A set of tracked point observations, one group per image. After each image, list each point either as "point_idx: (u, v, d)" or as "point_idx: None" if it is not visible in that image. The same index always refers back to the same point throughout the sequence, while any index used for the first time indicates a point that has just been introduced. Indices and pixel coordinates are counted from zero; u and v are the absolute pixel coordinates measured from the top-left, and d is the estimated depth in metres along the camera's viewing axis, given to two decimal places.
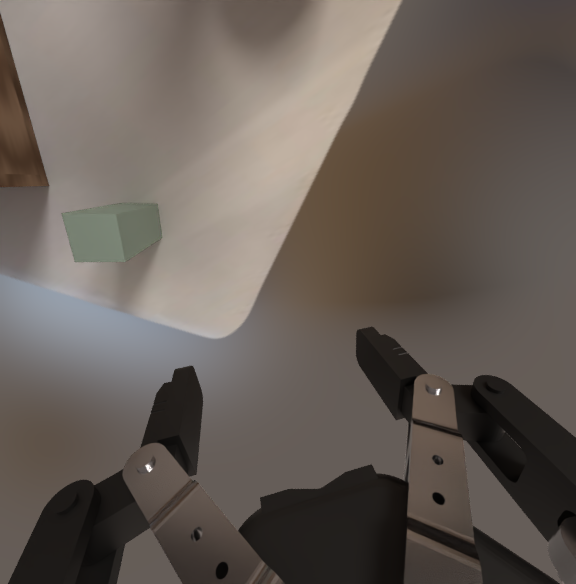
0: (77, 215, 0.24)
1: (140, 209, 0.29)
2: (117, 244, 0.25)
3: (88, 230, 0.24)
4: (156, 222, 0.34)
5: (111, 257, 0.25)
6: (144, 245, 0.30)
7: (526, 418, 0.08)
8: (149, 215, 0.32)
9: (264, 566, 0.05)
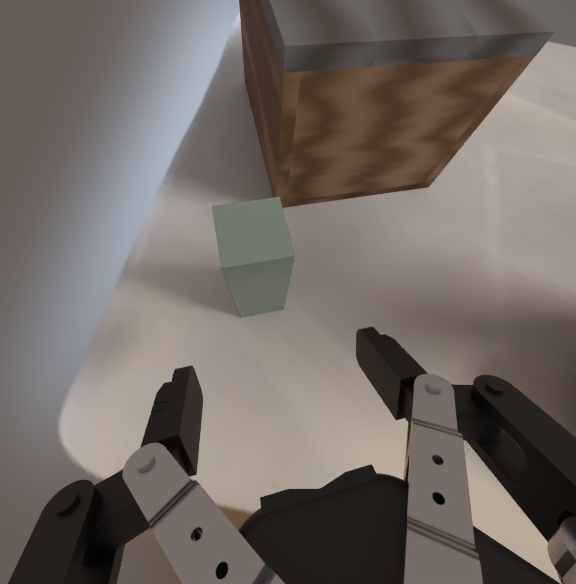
0: (281, 212, 0.17)
1: (286, 289, 0.22)
2: (249, 257, 0.16)
3: (263, 223, 0.17)
4: (262, 309, 0.26)
5: (226, 249, 0.16)
6: (237, 296, 0.21)
7: (526, 418, 0.08)
8: (274, 300, 0.24)
9: (264, 566, 0.05)
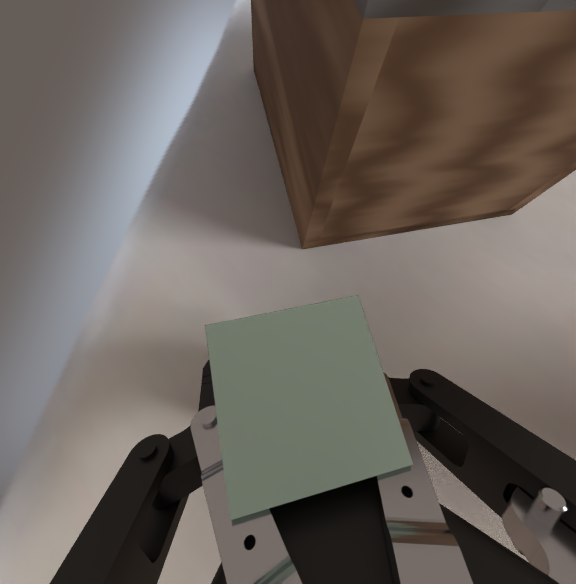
0: (367, 336, 0.07)
1: None
2: (300, 476, 0.06)
3: (328, 369, 0.07)
4: None
5: (241, 455, 0.06)
6: None
7: (459, 404, 0.08)
8: None
9: (287, 557, 0.05)
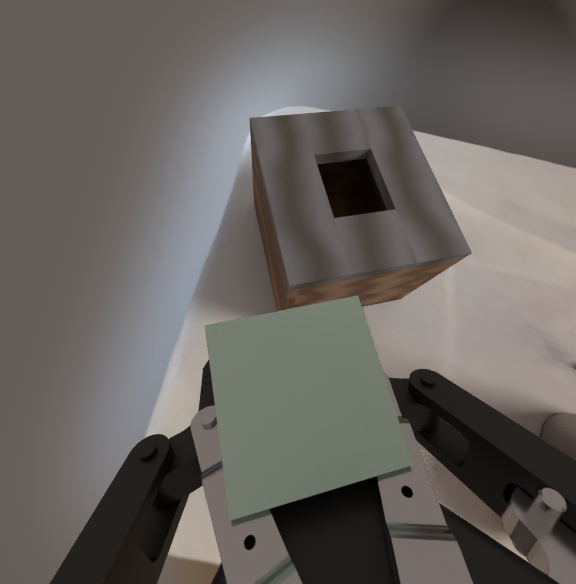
0: (367, 336, 0.07)
1: None
2: (300, 477, 0.06)
3: (327, 369, 0.07)
4: None
5: (241, 456, 0.06)
6: None
7: (459, 404, 0.08)
8: None
9: (287, 557, 0.05)
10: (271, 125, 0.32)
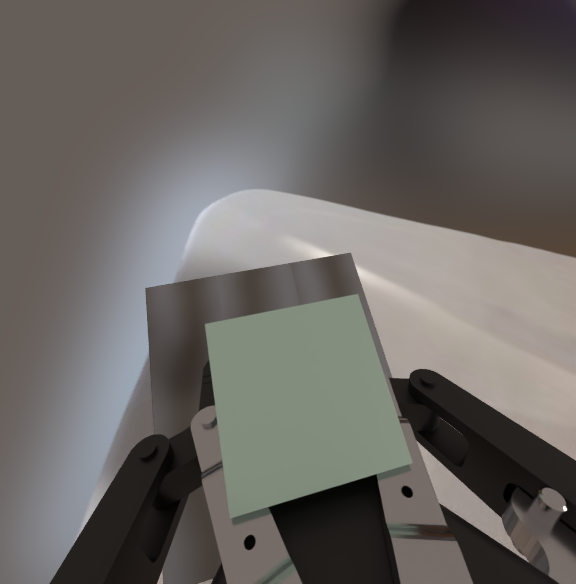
0: (367, 335, 0.07)
1: None
2: (300, 475, 0.06)
3: (327, 368, 0.07)
4: None
5: (241, 454, 0.06)
6: None
7: (459, 404, 0.08)
8: None
9: (287, 557, 0.05)
10: (173, 298, 0.24)
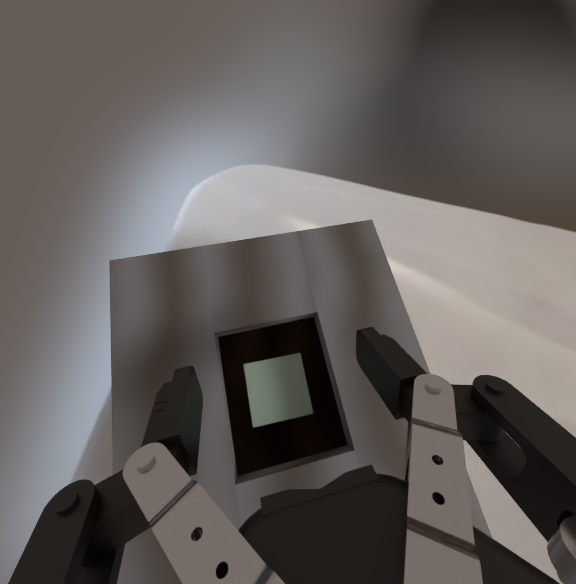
0: (302, 368, 0.20)
1: None
2: (275, 415, 0.19)
3: (286, 381, 0.20)
4: None
5: (256, 408, 0.19)
6: None
7: (526, 418, 0.08)
8: None
9: (264, 566, 0.05)
10: (146, 273, 0.19)
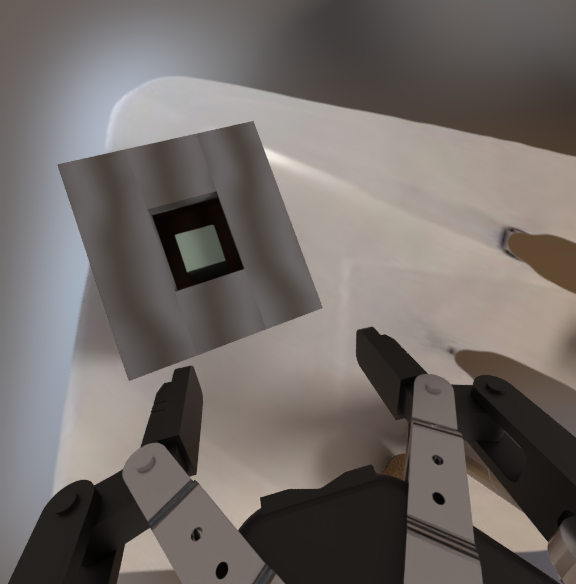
0: (215, 234, 0.31)
1: (227, 270, 0.36)
2: (200, 264, 0.30)
3: (206, 242, 0.30)
4: None
5: (187, 261, 0.30)
6: (198, 278, 0.35)
7: (526, 418, 0.08)
8: (222, 275, 0.38)
9: (264, 566, 0.05)
10: (88, 172, 0.26)
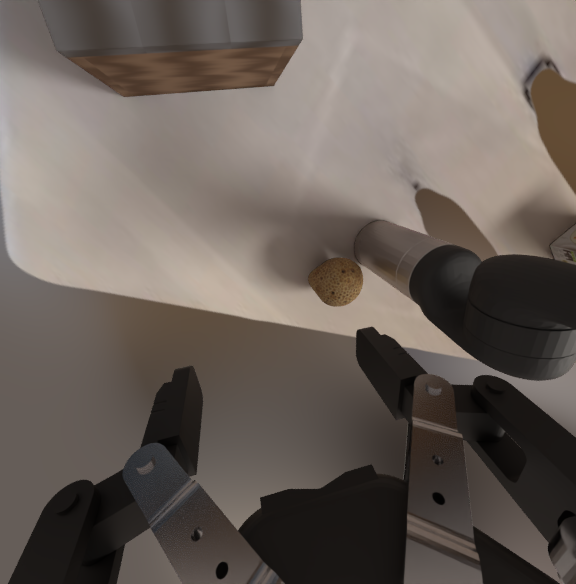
0: None
1: None
2: None
3: None
4: None
5: None
6: None
7: (526, 418, 0.08)
8: None
9: (264, 566, 0.05)
10: None
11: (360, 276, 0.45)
